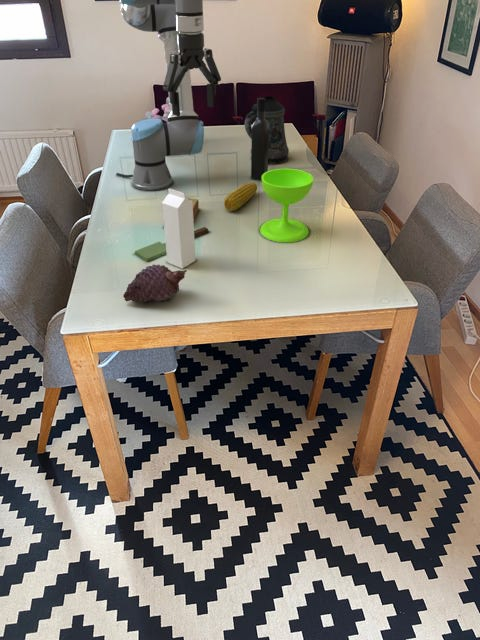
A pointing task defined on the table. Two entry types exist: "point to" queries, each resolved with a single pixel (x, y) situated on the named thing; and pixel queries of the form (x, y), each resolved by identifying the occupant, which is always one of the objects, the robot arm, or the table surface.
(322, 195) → the table surface
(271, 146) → the beer stein
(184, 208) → the milk
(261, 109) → the wine bottle
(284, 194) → the wineglass
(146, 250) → the spatula
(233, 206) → the food
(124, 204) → the table surface
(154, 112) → the flower
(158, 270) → the pine cone
